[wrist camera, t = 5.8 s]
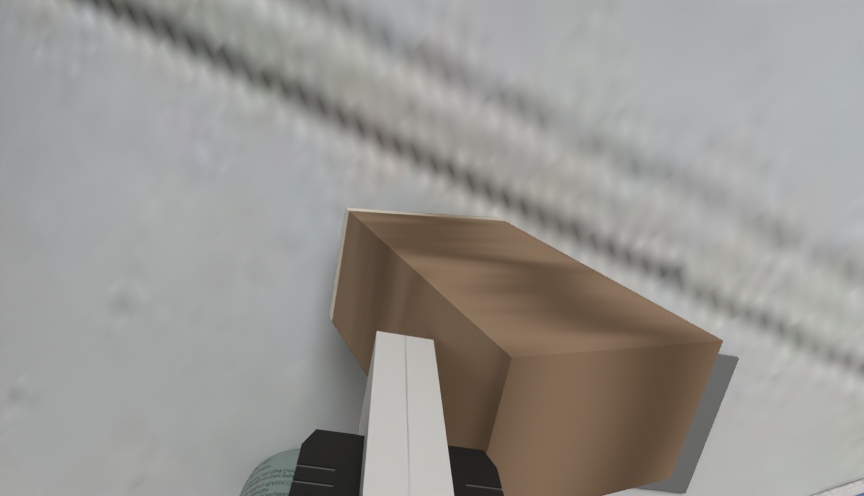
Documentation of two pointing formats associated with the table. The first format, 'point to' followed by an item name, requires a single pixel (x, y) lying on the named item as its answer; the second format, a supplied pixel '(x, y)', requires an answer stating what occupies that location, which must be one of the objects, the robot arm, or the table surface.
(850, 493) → the tablet computer
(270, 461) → the spray paint can
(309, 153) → the table surface
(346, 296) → the walnut block
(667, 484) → the mat
